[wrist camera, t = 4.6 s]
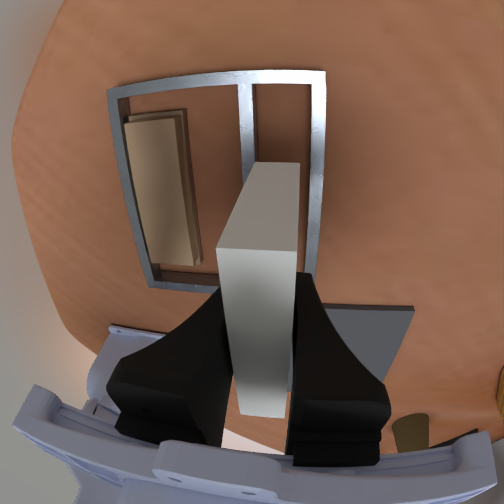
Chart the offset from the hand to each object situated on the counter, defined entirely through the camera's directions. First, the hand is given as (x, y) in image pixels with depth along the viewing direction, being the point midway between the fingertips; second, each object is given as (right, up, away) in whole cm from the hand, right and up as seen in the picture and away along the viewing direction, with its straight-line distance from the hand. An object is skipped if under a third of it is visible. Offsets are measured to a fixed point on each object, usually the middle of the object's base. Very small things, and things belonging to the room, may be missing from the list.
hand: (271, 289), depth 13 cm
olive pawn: (+23, -24, +24) cm, 42 cm away
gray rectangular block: (0, +2, +2) cm, 3 cm away
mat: (+7, -9, +16) cm, 20 cm away
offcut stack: (-7, +6, +9) cm, 13 cm away
